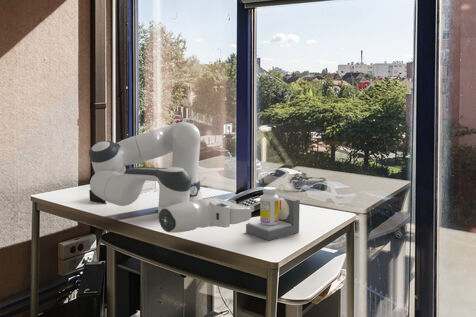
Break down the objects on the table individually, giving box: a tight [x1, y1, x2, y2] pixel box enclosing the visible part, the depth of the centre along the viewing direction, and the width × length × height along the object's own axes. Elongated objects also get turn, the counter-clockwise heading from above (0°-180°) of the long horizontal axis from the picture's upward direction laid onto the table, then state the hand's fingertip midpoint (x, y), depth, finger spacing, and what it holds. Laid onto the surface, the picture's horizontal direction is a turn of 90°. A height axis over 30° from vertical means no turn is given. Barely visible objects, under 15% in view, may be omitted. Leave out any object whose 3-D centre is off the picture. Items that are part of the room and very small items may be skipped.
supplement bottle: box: [259, 186, 279, 225], centre depth 143 cm, size 7×7×13 cm
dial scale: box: [245, 194, 301, 241], centre depth 144 cm, size 12×15×12 cm
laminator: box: [88, 180, 157, 205], centre depth 205 cm, size 34×12×6 cm, turn 148°
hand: (243, 205), depth 135 cm, fingers open, 8 cm apart
